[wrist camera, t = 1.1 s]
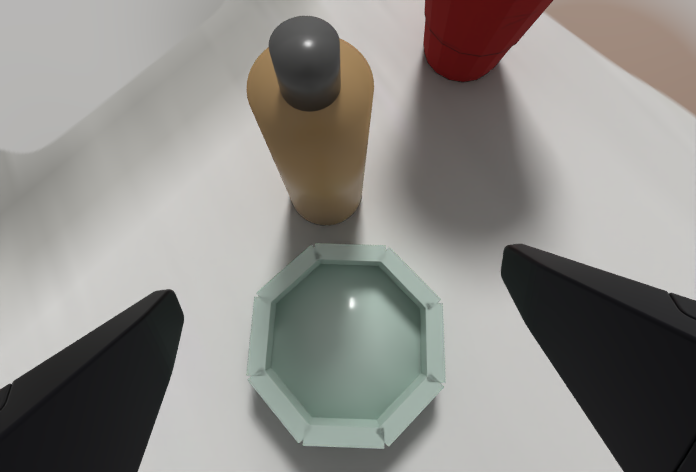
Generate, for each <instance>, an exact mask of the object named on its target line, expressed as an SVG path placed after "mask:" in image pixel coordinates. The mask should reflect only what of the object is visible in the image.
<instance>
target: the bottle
mask: <svg viewBox="0 0 696 472" xmlns="http://www.w3.org/2000/svg"><path fill="white" fill-rule="evenodd" d="M373 92H374V79H373V75H372V71H371V69H370V66H369V64H368V62H367V61H366V59H365V58H364V56H363V55H362V54H361V53H360V52H359V51H358V50H357V49H356V48H355V47H353V46H352V45H351V44H349V43H348V42H346V41H344V40H342V39H340V38H339V36H338V34H337V32H336V30H335V29H334V28H333V27H332V26H331V25H330V24H329V23H328V22H326V21H324V20H322V19H320V18H317V17H312V16H298V17H294V18H291V19H288V20H286V21H284V22H283V23H281V24H280V25H279V26H278V27H277V28H276V29H275V30H274V31H273V33H272V35H271V37H270V40H269V47H268V48H267V49H266V50H265V51H263V53H262V54H261V55H260V56H259V57H258V58H257V60H256V61H255V62H254V64H253V66H252V68H251V70H250V73H249V76H248V80H247V98H248V101H249V105H250V107H251V109H252V112H253V114H254V116H255V118H256V121H257V123H258V125H259V128H260V130H261V132H262V134H263V137H264V139H265V141H266V144H267V146H268V148H269V150H270V153H271V155H272V157H273V160H274V162H275V164H276V166H277V169H278V171H279V173H280V175H281V178H282V180H283V182H284V185H285V187H286V189H287V191H288V194H289V196H290V198H291V201H292V203H293V205H294V207H295V209H296V210H297V212H298V213H299V214H300V215H301V216H302V217H303V218H305V219H306V220H308V221H310V222H312V223H315V224H319V225H333V224H337V223H340V222H342V221H344V220H346V219H347V218H349V217H350V216H351V215H352V214H353V213H354V212H355V211H356V209H357V208H358V206H359V204H360V201H361V197H362V188H363V180H364V171H365V162H366V153H367V145H368V136H369V127H370V119H371V110H372V101H373Z"/></svg>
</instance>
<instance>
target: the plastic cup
mask: <svg viewBox="0 0 696 472" xmlns="http://www.w3.org/2000/svg"><path fill="white" fill-rule="evenodd" d="M552 1H553V0H425V17H426V20H425V32H424V44H423V45H424V52H425V55H426V59H427V62H428V64H429V65H430V66H431V67H432V68H433V69H434V71H435V72H436V73H438V74H440V75H442V76H443V77H445V78H447V79H449V80H455V81H461V82H465V81H471V80H477V79H479V78H480V77H482V76H484V75H485V74H487V73H488V72H489V71H490V70H492V69H493V68H494V67H495V66H496V65H497V64H498V62H499V61H500V60H501V59H502V58H503V56H504V55H505V54H506V53H507V52H508V50H509V49H510V48H511V47H512V46H513V45H515V44H516V43H517V42H518V41H519V40H520V38H521V37H522V36H523V35H524V34H525V33H526V31H527V30H528V29H529V28H530V27H531V26H532V24H533V23H534V22H535V21H536V20H537V19H538V18H539V16H540V15H541V14H542V13H543V12H544V11H545V9H546V8H547V7H548V6H549V5H550V3H551V2H552Z"/></svg>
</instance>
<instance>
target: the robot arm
mask: <svg viewBox="0 0 696 472" xmlns="http://www.w3.org/2000/svg"><path fill="white" fill-rule="evenodd" d="M501 276H502V279H503V281H504V283H505V285H506V287H507V289H508V291H509V293H510V295H511V297H512V299H513V301H514V303H515V305H516V307H517V309H518V311H519V313H520V314H521V316H522V318H523V320H524V322H525V324H526V325H527V327H528V328H529V330H530V332H531V333H532V335H533V336H534V338H535V339H536V341H537V342H538V344H539V345H540V347H541V348H542V350H543V351H544V353H545V354H546V356H547V357H548V359H549V360H550V362H551V363H552V365H553V366H554V368H555V369H556V371H557V372H558V374H559V375H560V377H561V378H562V380H563V381H564V383H565V384H566V386H567V387H568V389H569V390H570V392H571V393H572V395H573V396H574V398H575V399H576V401H577V402H578V404H579V405H580V407H581V408H582V410H583V411H584V413H585V414H586V416H587V417H588V419H589V420H590V422H591V423H592V425H593V426H594V428H595V429H596V431H597V432H598V434H599V435H600V437H601V438H602V440H603V441H604V443H605V444H606V446H607V447H608V449H609V450H610V452H611V453H612V455H613V456H614V458H615V459H616V461H617V462H618V464H619V465H620V467H621V468H622V470H623V471H624V472H696V301H695V300H692V299H689V298H686V297H683V296H680V295H677V294H674V293H669V294H668V292H667V291H664V290H661V289H658V288H655V287H652V286H649V285H646V284H643V283H640V282H637V281H634V280H631V279H628V278H625V277H622V276H619V275H616V274H613V273H609V272H606V271H603V270H600V269H597V268H594V267H591V266H588V265H585V264H582V263H579V262H576V261H573V260H570V259H567V258H564V257H561V256H558V255H555V254H552V253H548V252H545V251H542V250H539V249H536V248H533V247H530V246H527V245H524V244H513V245H507V246H506V247H505V248H504V251H503V259H502V266H501ZM183 323H184V315H183V311H182V309H181V306H180V304H179V302H178V299H177V297H176V294H175V293H174V291H173V290H171V289H167V290H159V291H155V292H153V293H151V294H150V295H148V296H147V297H145V298H143V299H142V300H140V301H139V302H137V303H136V304H134V305H132V306H131V307H129V308H128V309H126V310H125V311H123V312H121V313H120V314H118V315H117V316H115V317H114V318H112V319H110V320H109V321H107V322H106V323H104V324H103V325H101V326H99V327H98V328H96V329H95V330H93V331H92V332H90V333H88V334H87V335H85V336H84V337H82V338H80V339H79V340H77V341H76V342H74V343H73V344H71V345H69V346H68V347H66V348H65V349H63V350H62V351H60V352H58V353H57V354H55V355H54V356H52V357H51V358H49V359H47V360H46V361H44V362H43V363H41V364H40V365H38V366H36V367H35V368H33V369H32V370H30V371H29V372H27V373H25V374H24V375H22V376H21V377H19V378H18V379H16V380H14V381H13V383H12V384H8V385H6V386H5V387H3V388H2V389H0V472H138V469H139V466H140V464H141V461H142V458H143V455H144V452H145V449H146V446H147V444H148V441H149V438H150V435H151V432H152V429H153V426H154V424H155V421H156V418H157V415H158V412H159V409H160V406H161V404H162V401H163V398H164V395H165V392H166V389H167V386H168V384H169V381H170V377H171V374H172V371H173V367H174V363H175V358H176V354H177V350H178V345H179V341H180V336H181V332H182V328H183Z"/></svg>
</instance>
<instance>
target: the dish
mask: <svg viewBox="0 0 696 472" xmlns="http://www.w3.org/2000/svg"><path fill="white" fill-rule="evenodd" d="M257 294H258V296H259V297H254V305H253V315H252V325H251V335H250V344H249V354H248V364H247V374H246V375H247V376H251V377H250V378H249V379H248V381H249V382H250V384H251V385H252V386H253V387H254V389H255V390H256V391H257V392H258V394H259V395H260V396H261V397H262V399H263V400H264V401H265V402H266V404H267V405H268V406H269V407H270V409H271V410H272V411H273V412H274V414H275V415H276V416H277V417H278V419H279V420H280V421H281V422H282V424H283V425H284V426H285V427H286V429H287V430H288V431H289V432H290V434H291V435H292V436H293V437H294V439H295V440H296V441H297V442H298V444H299V443H300V442H301V441H302V440H303V446H323V447H350V448H376V449H384V442H385V444H386V445H387V446H388V447H389V446H390V445H391V444H392V443H393V442H394V441H395V440H396V439H397V437H398V436H399V435H400V434H401V433H402V432H403V431H404V430H405V429H406V428H407V427H408V426H409V424H410V423H411V422H412V421H413V420H414V419H415V418H416V417H417V416H418V415H419V414H420V413H421V412H422V410H423V409H424V408H425V407H426V406H427V405H428V404H429V403H430V402H431V401H432V400H433V399H434V397H435V396H436V395H437V394H438V393H439V392H440V391H441V390H442V389H443V388H444V386H443V385H442V384H441V383H446V381H445V353H444V324H443V303H438V302H439V301H440V300H441V299H440V298H439V297H438V296H437V295H436V294H435V293H434V292H433V291H432V290H431V289H430V288H429V287H428V286H427V285H426V284H425V283H424V282H423V281H422V280H421V279H420V278H419V276H418V275H417V274H416V273H415V272H414V271H413V270H412V269H411V268H410V267H409V266H408V265H407V264H406V263H405V262H404V261H403V260H402V259H401V258H400V257H399V256H398V255H397V254H396V253H395V252H394V251H393V250H392V249H391V248H390V247H389V248H388V249H387V250H386V245H358V244H329V243H315V248H314V247H313V246H312V245H310V246H309V247H308V248H306V249H305V250H304V251H303V252H302V253H301V254H300V255H299V256H297V257H296V258H295V259H294V260H293V261H292V262H291V263H290V264H288V265H287V266H286V267H285V268H284V269H283V270H282V271H280V272H279V273H278V274H277V275H276V276H275V277H274V278H273V279H271V280H270V281H269V282H268V283H267V284H266V285H265V286H264V287H262V288H261V289H260V290H259V291H258V292H257Z"/></svg>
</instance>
